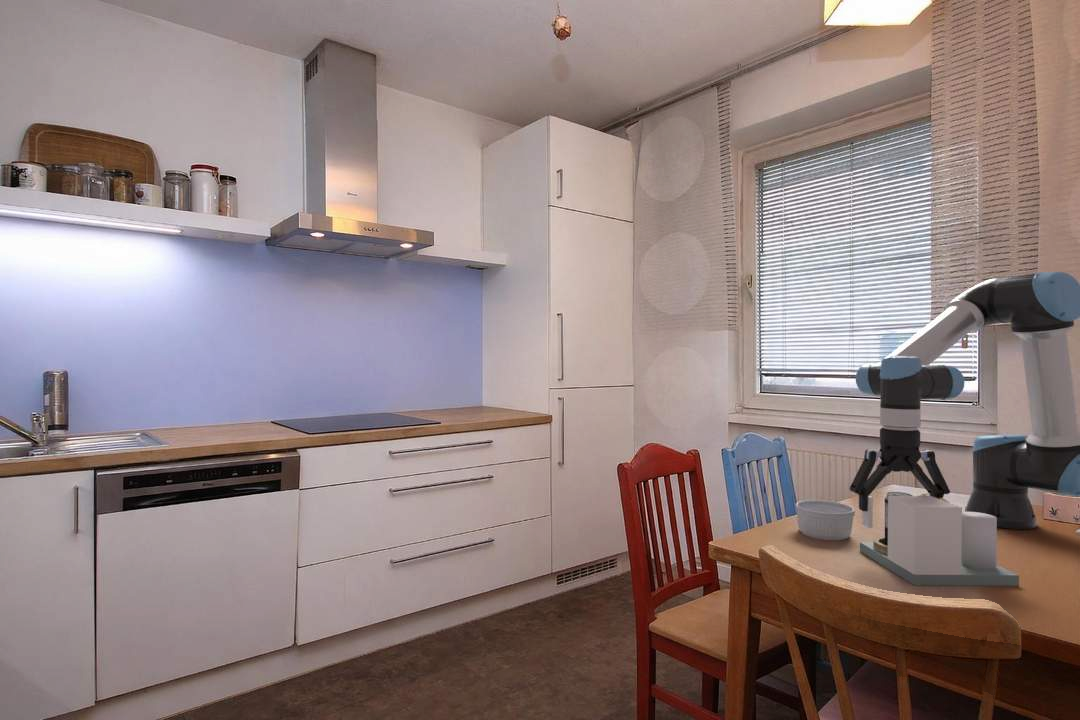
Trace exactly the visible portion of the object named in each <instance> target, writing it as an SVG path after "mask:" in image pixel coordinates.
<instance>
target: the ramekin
mask: <svg viewBox="0 0 1080 720" xmlns="http://www.w3.org/2000/svg"><path fill="white" fill-rule="evenodd" d="M795 511H796V518H797V526H798V529H799V530H800V532H801V533H802V535H804V536H807V537H808V538H809V537H810V538H813V539H818V540H822V541H823V540H824V541H843V540H846V539H848V538H849V537H850V535H851V533H852V529H853V522H854V516H855V514H856V513H855V512H856V511H855V508H854V507H852V506H851V505H848V504H846V503H841V502H838V501H837V502H836V501H832V500H820V499H807V500H800V501H797V502H796V503H795Z"/></svg>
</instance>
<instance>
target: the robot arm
mask: <svg viewBox="0 0 1080 720" xmlns="http://www.w3.org/2000/svg"><path fill="white" fill-rule="evenodd" d="M1079 318H1080V282H1079V281H1078V280H1077V279H1076V278H1074V276H1072V275H1071V274H1069V272H1064V271H1040V272H1036V273H1026V274H1018V275H1013V276H1011V275H1009V276H1002V277H1001V276H1000V277H999V276H998V277H995V278H991V279H987V280H985V281H982V282H980V283H978V284H975V285H974V286H972V287H971V288H969V289H967V290H965V291H964V292H962V293H960V294H959V295H958V296H956V297H955V298H953V299H952V300H951V301H950V302H948V303H947V304H946V305H945V307H944V310H943V312H942V313H941V314H940V315H938V316H937V317H936V318H935V319H933V320H931V322H930V323H928V324H927V325H926V326H924V327H923V328H922V329H921V330H919V331H918V332H917V333H915V334H913V336H912V337H910V338H909V339H908V340H906V342H904V343H903V344H901V345H900V346H899V347H898V348H896V349H895V350H894V351H893V352H891V353H890V354H889V355H888V356H885V357H883V358H882V359H881V361H880V362H877V363H869V364H868V363H867V364H863V365H861V366H860V367H859V368H858V370H857V372H856V374H855V384H856V387H857V389H858V390H859V391H860V392H861V393H863V394H866V395H873V396H876V397H877V396H878V397H880V408H879V414H880V415H879V425H880V426H882V427H881V428H880V429H879V444H880V445H879V446H880V449H879V451H877V450H873V449H868V448H867V449H866V450H865V451H864V456H863V457H864V458H863V461H861V465H860V466H859V468H858V470H857V472H856V474H855V477H854V478H853V480H852V482H851V484H850V487H849V491H850V492H853V493H854V494H857V495H858V509H859V511H862V515H861V516H862V517H861V518H862V521H861V522H862V525H863V526H864V527H867V528H869V529H871V528H872V529H873V526H874V525H873V524H874V522H873V521H874V520H873V518H874V517H873V515H874V513H873V511H874V508H873V507H874V503H873V502H874V498H873V496H870V494H872V493H873V491H874V490H875V489H876V488H877V487H878V486H879V484H881V482H882V481H883V480H884V478H886V476H887V475H889V474H891V473H892V472H895V473H896V472H898V473H899V472H905V473H908V472H909V473H911V474H912V475H913V476H914V477H915V478H916V480H917V481H918V482H919V483H920V484H921V486H922V487H923V488H924V489H925V490H926V491H927V494H930V495H925V496H932V497H935V498H938V499H940V498H944V496H945V495H950V493H951V491H950V488H949V486H948V484H947V482H946V480H945V478H944V476H943V474H942V471H941V470H940V467H939V466H938V463H937V462H936V453H935V452H934V451H932V450H930V449H929V450H928V449H922V450H921V451H920V446H921V431H920V430H919V429H918V428H921V401H923V400H942V401H945V400H949V399H954V398H956V397H958V396H959V395H961V393H962V392H963V391H964V389H965V378H964V375H963V373H962V372H961V371H960V369H958V368H957V367H955V366H952V365H944V364H937V365H932V363H933V362H934V361H936V360H937V359H938V358H939V357H940V356H943V354H944V353H945V352H947V351H949V350H950V349H951V348H952V347H953V346H955V345H956V344H957V343H958V342H959V341H961V340H962V339H963V338H965V336H967V335H968V334H973V333H976V332H978V331H980V330H981V329H983V328H984V327H986V326H987V327H988V326H991V325H996V324H1010V328H1011V333H1012V334H1014V335H1015V336H1017V337H1018V338H1020V345H1021V346H1020V347H1021V353H1022V361H1023V369H1024V376H1025V377H1024V378H1025V383H1026V392H1027V400H1028V401H1027V402H1028V408H1029V416H1030V423H1031V431H1032V432H1031V434H1029V435H1026V434H1025V435H1024V434H998V435H997V434H995V435H979V436H977V437H975V439H974V441H973V447H972V448H973V449H972V491H971V493H970V496H969V499H968V501H967V504H966V506H965V508H964V512H978V513H985V514H989V515H993V516H995V517H996V518H997V528H1001V529H1002V528H1003V529H1013V530H1029V529H1031V530H1032V529H1034V528H1036V527H1037V517H1036V515H1035V512H1034V509H1033V506H1032V503H1031V500H1030V498H1029V489H1033V490H1039V491H1043V492H1049V493H1054V494H1058V495H1060V496H1072V497H1077V498H1078V497H1080V432H1079V426H1078V425H1079V424H1078V417H1077V415H1078V414H1077V408H1076V400H1075V392H1074V391H1075V390H1074V383H1073V374H1072V366H1071V359H1070V350H1069V343H1068V342H1069V341H1068V333H1070V331H1072V329H1073V328H1074V327H1075V321H1076V320H1078V319H1079ZM879 459H880V461H879V463H878V464H877V466H876V469H875V470H874V471H873V469H874V466H875V464H876V463H877V462H876V461H878V460H879ZM920 460H922V461H923V463H924V466H925V468H926V471H927V472H928V475H929V476H930V478H931V479H930V478H929V477H928V475H927V474H926V473H925V472H924V470H923V468H922V467H921V466H920V465H919V461H920ZM872 471H873V472H872ZM871 472H872V473H871ZM870 474H871V475H870Z"/></svg>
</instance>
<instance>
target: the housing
mask: <svg viewBox="0 0 1080 720" xmlns="http://www.w3.org/2000/svg"><path fill="white" fill-rule="evenodd" d="M949 502H950V501H948V502H946V501H943V500H941V499H938V498H935V497H932V496H920V495H913V496H888V559H889V560H891V561H892V562H894V563H896V564H897V565H899V566H901V567H902V568H904V569H906V570H907V571H909V572H911V573H912V574H914V575H961V554H962V512H963V507H962V506H959V505H958V504H957V505H956V504H954V503H951V502H950V503H949Z"/></svg>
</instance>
